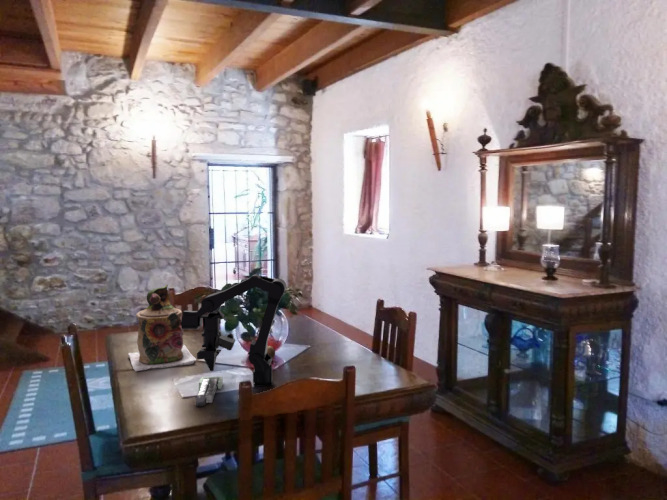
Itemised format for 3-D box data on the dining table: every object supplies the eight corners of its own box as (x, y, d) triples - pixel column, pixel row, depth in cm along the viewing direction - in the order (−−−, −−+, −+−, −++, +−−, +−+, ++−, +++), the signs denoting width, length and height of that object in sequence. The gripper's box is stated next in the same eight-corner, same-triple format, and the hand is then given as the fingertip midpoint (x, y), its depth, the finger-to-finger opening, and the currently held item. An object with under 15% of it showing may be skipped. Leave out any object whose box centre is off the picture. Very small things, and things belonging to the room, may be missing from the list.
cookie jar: (127, 356, 229) (124, 283, 225) (185, 349, 240) (183, 279, 237) (134, 373, 207) (132, 292, 204) (198, 364, 218) (196, 287, 215)
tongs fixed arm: (217, 385, 194) (217, 378, 193) (211, 402, 177) (211, 395, 177) (212, 385, 193) (211, 378, 193) (205, 402, 177) (205, 395, 177)
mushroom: (268, 348, 231) (265, 339, 226) (280, 358, 226) (278, 349, 222) (253, 359, 227) (251, 350, 223) (265, 370, 222) (263, 361, 218)
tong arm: (210, 385, 193) (210, 377, 193) (204, 406, 174) (204, 398, 174) (202, 385, 193) (202, 378, 193) (195, 406, 174) (195, 398, 173)
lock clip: (222, 382, 196) (222, 376, 196) (220, 388, 190) (220, 382, 190) (201, 383, 195) (201, 377, 195) (198, 389, 189) (198, 382, 189)
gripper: (227, 336, 185) (228, 379, 187) (237, 323, 204) (238, 363, 206) (195, 336, 185) (196, 379, 187) (208, 323, 204) (209, 362, 206)
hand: (211, 370), depth 196 cm, fingers closed
